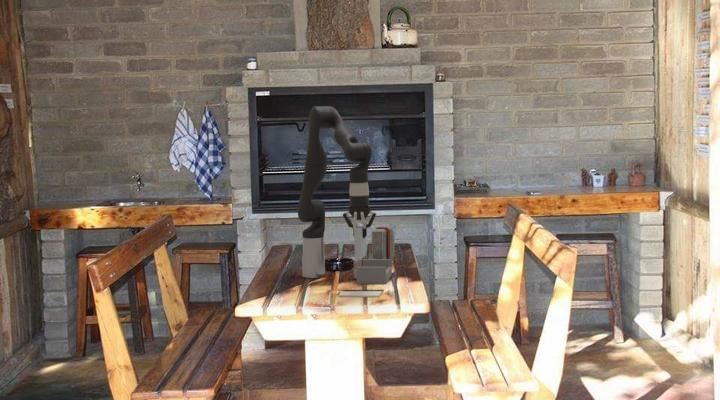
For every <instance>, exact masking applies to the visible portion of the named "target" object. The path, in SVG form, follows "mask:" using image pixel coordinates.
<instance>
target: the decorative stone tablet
mask: <svg viewBox="0 0 720 400" xmlns="http://www.w3.org/2000/svg"><path fill="white" fill-rule="evenodd" d="M395 244H396V243H395V234H394V230H393V228H392V227H391V226H388V227H386V226H378V227H376V228H374V229H372V230H371V259H391V266H392V265H393V262H394V258H395V246H396V245H395Z"/></svg>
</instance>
